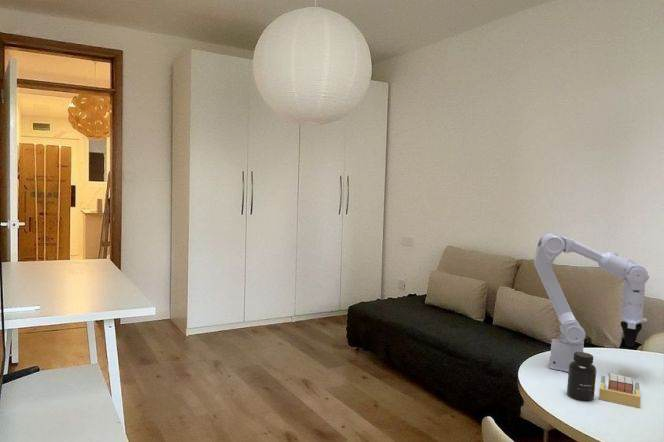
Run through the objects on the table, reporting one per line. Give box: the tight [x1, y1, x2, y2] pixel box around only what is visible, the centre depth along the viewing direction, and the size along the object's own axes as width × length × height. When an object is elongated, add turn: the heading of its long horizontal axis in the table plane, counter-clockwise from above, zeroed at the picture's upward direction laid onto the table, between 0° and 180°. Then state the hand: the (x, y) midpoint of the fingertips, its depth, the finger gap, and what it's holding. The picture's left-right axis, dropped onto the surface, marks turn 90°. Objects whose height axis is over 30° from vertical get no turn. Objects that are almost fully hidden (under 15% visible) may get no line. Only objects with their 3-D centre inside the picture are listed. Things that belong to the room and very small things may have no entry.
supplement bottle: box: [566, 351, 597, 402], centre depth 137 cm, size 7×7×12 cm
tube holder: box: [598, 375, 641, 409], centre depth 139 cm, size 10×13×3 cm
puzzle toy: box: [607, 373, 634, 394], centre depth 137 cm, size 6×6×6 cm
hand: (629, 346), depth 153 cm, fingers closed
